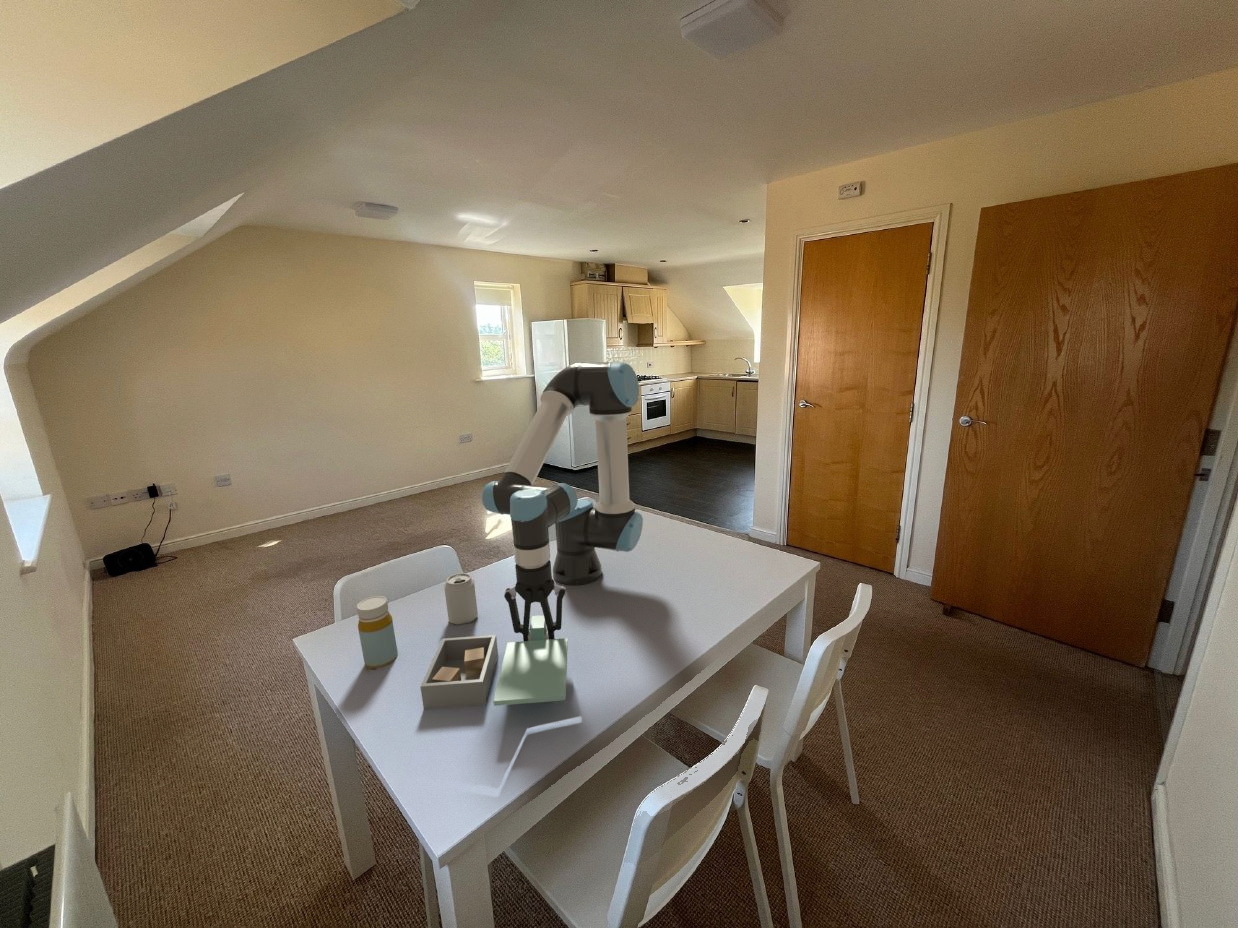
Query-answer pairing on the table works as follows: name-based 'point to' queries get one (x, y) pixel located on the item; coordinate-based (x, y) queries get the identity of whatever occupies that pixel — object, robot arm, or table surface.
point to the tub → (467, 688)
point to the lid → (533, 669)
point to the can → (460, 599)
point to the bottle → (376, 632)
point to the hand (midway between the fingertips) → (540, 656)
